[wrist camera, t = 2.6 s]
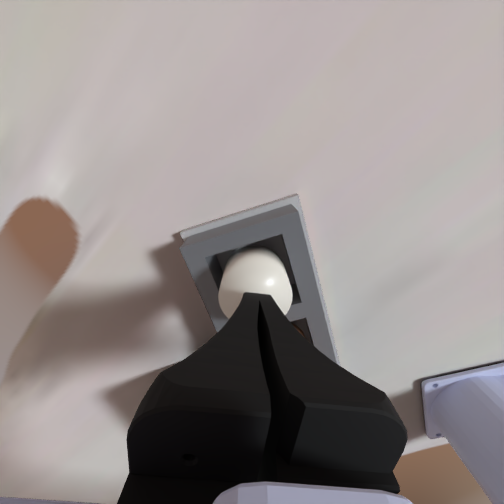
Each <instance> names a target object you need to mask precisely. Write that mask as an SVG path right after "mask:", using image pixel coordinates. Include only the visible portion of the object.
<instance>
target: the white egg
mask: <svg viewBox="0 0 504 504" xmlns="http://www.w3.org/2000/svg"><path fill="white" fill-rule="evenodd" d="M245 292H251V293H260V294H269V295H271V296H272V298H273V299H274V300H275V302H276V303H277V305H278V306H279V308H280V309H281V311H282V312H283V313H284V315H286V314H287V312H288V311H289V309H290V306H291V303H292V289H291V285H290V282H289V279H288V276H287V273H286V270H285V267H284V264H283V261H282V260H281V258H280V257H279V255H278V254H277V253H275V252H274V251H273V250H271V249H269V248H267V247H264V246H259V245H250V246H245V247H243V248H240V249H239V250H237V251H236V252H234V253H233V254H232V255H231V256H230V258H229V259H228V261H227V263H226V266H225V269H224V273H223V277H222V281H221V285H220V288H219V294H218V300H219V304H220V307H221V309H222V311H223V313H224V314H225V315H226V317H227V318H228V319H230V317H231V316H232V315H233V313H234V312H235V310H236V309H237V307H238V305H239V304H240V302H241V299H242V297H243V293H245Z"/></svg>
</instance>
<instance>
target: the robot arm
mask: <svg viewBox="0 0 504 504" xmlns="http://www.w3.org/2000/svg"><path fill="white" fill-rule="evenodd" d="M421 386H422V397H423V407H424V418H425V428H426V434H427V436H428V437H429V438H430V439H435V438H440V437H445V438H446V439H447V440H448V442H449V443H450V445H451V446H452V447H453V449H454V450H455V452H456V453H457V455H458V456H459V457H460V458H461V460H462V462H463V463H464V464H465V466H466V467H467V469H468V470H469V471H470V473H471V474H472V475H473V477H474V478H475V480H476V481H477V483H478V484H479V485H480V487H481V488H482V490H483V491H484V493H485V494H486V495H487V496H488V498H489V500H490V501H491V502H492V504H504V363H499V364H495V365H490V366H486V367H481V368H477V369H472V370H468V371H463V372H459V373H454V374H450V375H445V376H441V377H436V378H432V379H427V380H424V381H423V382H422V384H421ZM406 442H407V430H406V428H405V426H404V424H403V422H402V420H401V419H400V417H399V415H398V413H397V412H396V410H395V408H394V406H393V405H392V403H391V402H390V400H389V398H388V397H387V396H386V394H385V392H383V391H381V390H379V389H377V388H376V387H374V386H372V385H370V384H368V383H367V382H365V381H363V380H361V379H359V378H358V377H356V376H354V375H353V374H351V373H350V372H348V371H347V370H345V369H344V368H342V367H341V366H339V365H338V364H336V363H335V362H333V361H332V360H331V359H329V358H328V357H327V356H326V355H324V354H323V353H322V352H320V351H319V350H318V349H317V348H316V347H314V346H313V345H312V344H311V343H310V342H309V341H308V340H307V339H306V338H305V337H304V336H303V335H302V334H301V333H300V332H299V331H298V330H297V329H296V328H295V327H294V326H293V325H292V324H291V322H290V321H289V320H288V319H287V317H286V316H285V315H284V313H283V312H282V311H281V309H280V308H279V306H278V305H277V303H276V302H275V300H274V299H273V298H272V296H271V295H269V294H260V293H251V292H245V293H243V297H242V299H241V302H240V304H239V305H238V307H237V309H236V310H235V312H234V313H233V315H232V316H231V317H230V319H229V320H228V321H227V323H226V324H225V325H224V326H223V327H222V328H221V330H220V331H219V332H218V333H217V334H216V335H215V336H214V337H213V338H211V339H210V340H209V341H208V342H207V343H206V344H205V345H203V346H202V347H201V348H200V349H198V350H197V351H195V352H194V353H193V354H191V355H190V356H188V357H187V358H186V359H184V360H183V361H181V362H179V363H177V364H175V365H174V366H172V367H170V368H168V369H166V370H164V371H162V372H161V373H160V374H159V375H158V377H157V378H156V379H155V381H154V382H153V384H152V385H151V387H150V388H149V390H148V391H147V393H146V395H145V396H144V398H143V400H142V401H141V403H140V405H139V407H138V409H137V411H136V414H135V416H134V418H133V420H132V422H131V425H130V427H129V429H128V433H127V449H128V461H129V475H128V477H127V480H126V482H125V485H124V487H123V490H122V492H121V495H120V497H119V500H118V503H117V504H412V502H411V501H410V500H408V499H407V498H405V497H403V496H402V495H398V493H399V492H400V487H399V484H398V482H397V480H396V478H395V476H394V474H393V469H394V468H395V466H396V464H397V462H398V460H399V458H400V457H401V455H402V453H403V451H404V448H405V445H406ZM0 504H99V503H85V502H70V501H56V500H41V499H27V498H12V497H0Z"/></svg>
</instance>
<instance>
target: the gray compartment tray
mask: <svg viewBox="0 0 504 504" xmlns="http://www.w3.org/2000/svg"><path fill="white" fill-rule="evenodd" d="M180 235H181V237H182V239H183V241H184V243H183V244H182V246H181V247H180V248H179V249H180V251H181V253H182V256H183V258H184V260H185V262H186V264H187V267H188V269H189V271H190V273H191V275H192V278H193V280H194V282H195V284H196V287H197V289H198V291H199V293H200V295H201V298H202V300H203V302H204V304H205V306H206V309H207V311H208V313H209V315H210V318H211V320H212V322H213V324H214V326H215V329H216V331H217V333H218V332H219V331H220V330H221V328H222V327H223V326H224V325H225V324H226V323H227V321H228V320H229V319H228V318H227V317H226V315H225V314H224V313H223V311H222V309H221V307H220V304H219V300H218V294H219V288H220V285H221V281H222V277H223V273H224V269H225V266H226V263H227V261H228V259H229V258H230V256H231V255H232V254H233V253H234V252H236V251H237V250H239V249H240V248H243V247H245V246H250V245H259V246H264V247H267V248H269V249H271V250H273V251H274V252H275V253H277V254H278V255H279V257H280V258H281V260H282V261H283V264H284V267H285V270H286V273H287V276H288V279H289V282H290V285H291V289H292V303H291V306H290V309H289V311H288V312H287V314H286V315H285V316H286V317H287V319H288V320H289V321H290V322H291V323H292V324H294V325H296V326H298V327H299V328H300V329H301V330H302V331H303V333H304V335H305V337H306V339H307V340H308V341H309V342H310V343H311V344H312V345H313V346H314V347H316V348H317V349H318V350H319V351H320V352H322V353H323V354H324V355H326V356H327V357H328V358H329V359H331V360H332V361H333V362H335V363H336V364H338V365H339V366H340V362H339V358H338V354H337V350H336V345H335V341H334V337H333V333H332V329H331V325H330V321H329V317H328V313H327V309H326V305H325V301H324V297H323V293H322V289H321V285H320V280H319V276H318V272H317V268H316V264H315V260H314V256H313V252H312V248H311V244H310V240H309V236H308V232H307V228H306V224H305V220H304V216H303V211H302V207H301V203H300V199H299V195H298V194H294V195H291V196H288V197H284V198H281V199H278V200H275V201H272V202H269V203H266V204H263V205H260V206H256V207H253V208H250V209H247V210H244V211H241V212H238V213H235V214H231V215H228V216H225V217H222V218H219V219H216V220H213V221H210V222H207V223H203V224H200V225H197V226H194V227H191V228H188V229H185V230H183V231H181V232H180Z"/></svg>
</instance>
